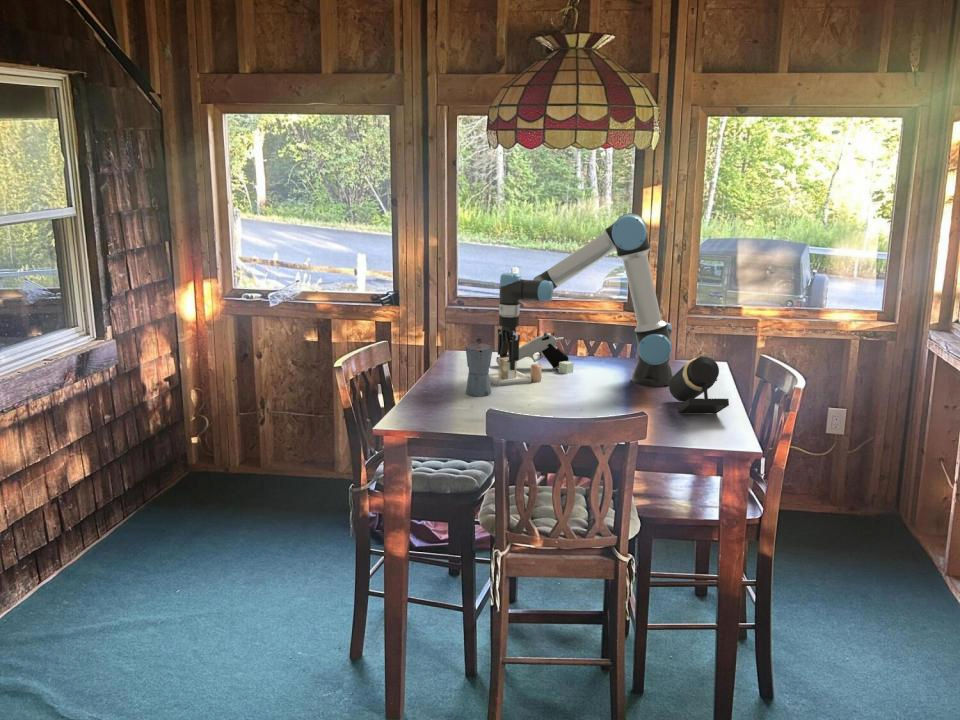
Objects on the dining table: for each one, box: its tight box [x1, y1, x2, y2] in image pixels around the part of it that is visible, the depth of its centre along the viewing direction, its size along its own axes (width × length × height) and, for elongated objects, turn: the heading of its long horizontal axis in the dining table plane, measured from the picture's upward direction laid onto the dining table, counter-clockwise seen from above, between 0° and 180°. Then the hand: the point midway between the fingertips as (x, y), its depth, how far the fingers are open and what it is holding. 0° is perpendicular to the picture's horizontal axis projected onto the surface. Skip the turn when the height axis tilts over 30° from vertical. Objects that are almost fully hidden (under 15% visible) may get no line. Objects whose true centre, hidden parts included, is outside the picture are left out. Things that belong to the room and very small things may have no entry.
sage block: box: [558, 361, 574, 375], centre depth 352 cm, size 4×4×4 cm
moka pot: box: [465, 338, 494, 397], centre depth 317 cm, size 10×15×20 cm, turn 9°
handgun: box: [495, 331, 570, 370], centre depth 357 cm, size 4×28×15 cm, turn 85°
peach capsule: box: [530, 363, 543, 383], centre depth 337 cm, size 4×4×6 cm
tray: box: [488, 370, 532, 387], centre depth 337 cm, size 12×14×2 cm
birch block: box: [497, 357, 518, 379], centre depth 336 cm, size 5×5×7 cm
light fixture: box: [668, 355, 730, 414], centre depth 302 cm, size 13×18×26 cm
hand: (507, 376), depth 337 cm, fingers closed on birch block, 5 cm apart
